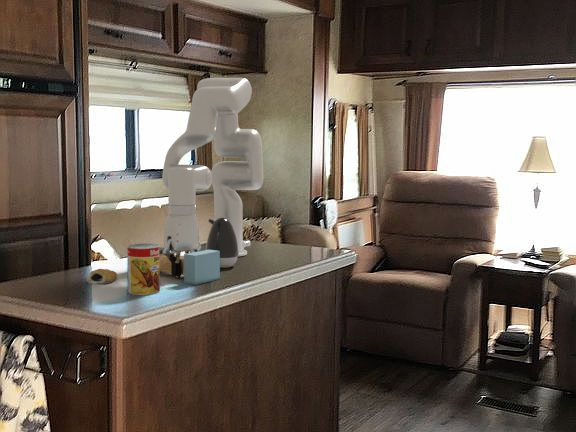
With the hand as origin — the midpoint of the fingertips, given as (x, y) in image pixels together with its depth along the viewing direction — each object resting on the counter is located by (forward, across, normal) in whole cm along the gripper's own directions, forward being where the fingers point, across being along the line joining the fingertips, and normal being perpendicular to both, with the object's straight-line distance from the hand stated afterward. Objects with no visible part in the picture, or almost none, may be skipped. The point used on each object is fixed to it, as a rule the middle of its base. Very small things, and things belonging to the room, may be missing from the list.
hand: (182, 274), depth 198 cm
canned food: (+1, +19, +5) cm, 20 cm away
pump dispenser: (+1, -20, -3) cm, 20 cm away
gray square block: (+1, 0, -15) cm, 15 cm away
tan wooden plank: (0, 0, -3) cm, 3 cm away
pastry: (+1, +17, -14) cm, 22 cm away
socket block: (+1, 0, +8) cm, 8 cm away
